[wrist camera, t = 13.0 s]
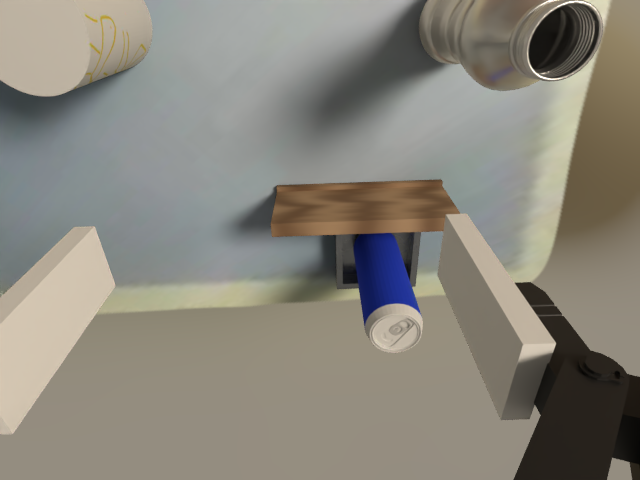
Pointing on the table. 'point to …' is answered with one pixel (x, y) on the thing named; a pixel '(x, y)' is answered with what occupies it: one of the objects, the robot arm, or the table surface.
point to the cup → (69, 42)
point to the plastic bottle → (512, 38)
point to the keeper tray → (346, 260)
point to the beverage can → (386, 294)
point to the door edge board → (360, 208)
